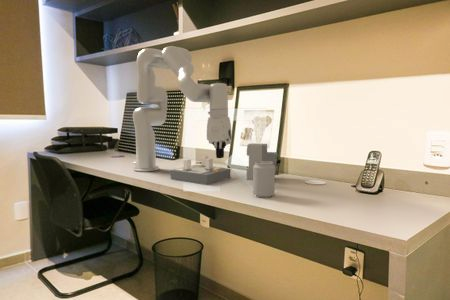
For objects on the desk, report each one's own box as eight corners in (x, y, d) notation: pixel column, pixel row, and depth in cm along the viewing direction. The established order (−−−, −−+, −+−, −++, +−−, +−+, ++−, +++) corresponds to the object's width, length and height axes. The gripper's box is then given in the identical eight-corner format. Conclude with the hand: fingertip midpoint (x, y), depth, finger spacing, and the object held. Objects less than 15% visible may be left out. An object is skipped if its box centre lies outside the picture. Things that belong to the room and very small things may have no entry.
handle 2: (200, 165, 150) (200, 156, 149) (204, 165, 152) (204, 155, 152) (205, 166, 148) (205, 156, 148) (209, 165, 151) (209, 156, 150)
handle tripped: (204, 169, 141) (204, 159, 140) (208, 168, 143) (208, 158, 143) (209, 170, 139) (209, 159, 139) (213, 168, 142) (213, 158, 141)
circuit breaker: (279, 180, 139) (280, 145, 137) (246, 179, 142) (246, 145, 140) (280, 177, 146) (281, 143, 144) (248, 176, 149) (249, 143, 147)
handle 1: (182, 169, 140) (182, 159, 139) (187, 168, 142) (187, 158, 142) (187, 170, 138) (187, 160, 138) (192, 169, 141) (192, 159, 140)
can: (257, 199, 110) (258, 164, 109) (249, 193, 117) (250, 160, 116) (278, 197, 112) (278, 162, 111) (269, 192, 119) (269, 159, 118)
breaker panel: (170, 179, 143) (170, 169, 143) (196, 173, 157) (195, 163, 156) (206, 184, 132) (206, 173, 131) (230, 177, 146) (230, 167, 145)
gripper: (199, 114, 136) (200, 157, 138) (228, 113, 128) (229, 160, 130) (210, 114, 143) (211, 155, 145) (239, 113, 134) (239, 157, 136)
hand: (220, 157), depth 137 cm, fingers closed
